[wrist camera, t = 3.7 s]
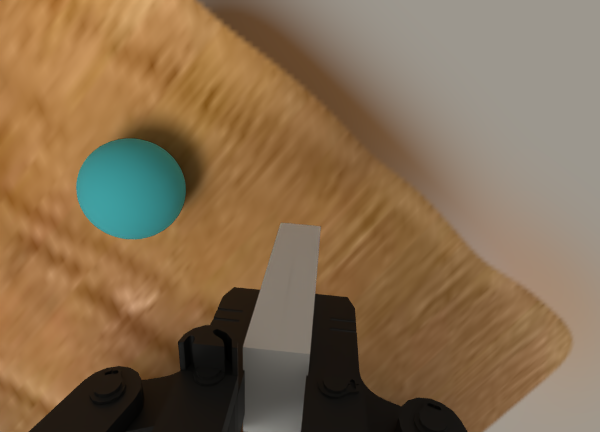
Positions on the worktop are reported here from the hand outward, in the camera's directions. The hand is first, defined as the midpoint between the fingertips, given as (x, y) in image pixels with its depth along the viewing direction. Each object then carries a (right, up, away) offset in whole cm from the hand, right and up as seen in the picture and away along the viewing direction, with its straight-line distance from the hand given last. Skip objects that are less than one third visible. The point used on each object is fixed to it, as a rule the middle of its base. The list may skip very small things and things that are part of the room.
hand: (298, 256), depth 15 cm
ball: (-9, +3, +7) cm, 12 cm away
